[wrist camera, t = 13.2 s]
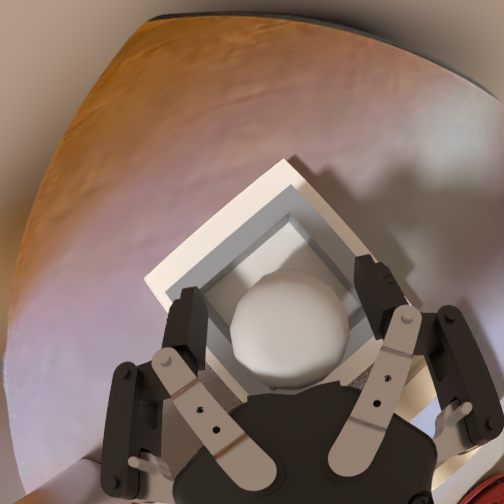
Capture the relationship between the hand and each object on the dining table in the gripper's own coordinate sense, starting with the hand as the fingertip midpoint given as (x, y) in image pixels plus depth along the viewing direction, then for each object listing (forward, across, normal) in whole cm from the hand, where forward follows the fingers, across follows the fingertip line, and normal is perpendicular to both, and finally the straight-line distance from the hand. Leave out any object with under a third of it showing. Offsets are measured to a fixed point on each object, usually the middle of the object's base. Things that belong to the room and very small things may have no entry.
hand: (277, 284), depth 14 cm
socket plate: (+5, 0, +7) cm, 9 cm away
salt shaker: (+4, 0, +7) cm, 8 cm away
